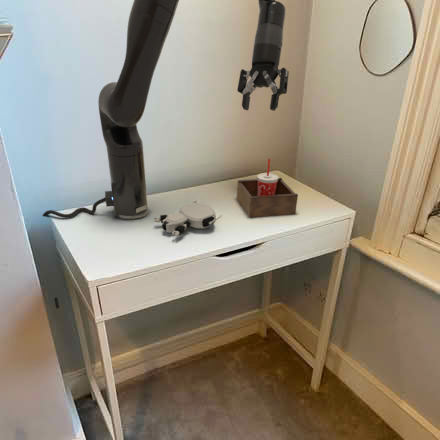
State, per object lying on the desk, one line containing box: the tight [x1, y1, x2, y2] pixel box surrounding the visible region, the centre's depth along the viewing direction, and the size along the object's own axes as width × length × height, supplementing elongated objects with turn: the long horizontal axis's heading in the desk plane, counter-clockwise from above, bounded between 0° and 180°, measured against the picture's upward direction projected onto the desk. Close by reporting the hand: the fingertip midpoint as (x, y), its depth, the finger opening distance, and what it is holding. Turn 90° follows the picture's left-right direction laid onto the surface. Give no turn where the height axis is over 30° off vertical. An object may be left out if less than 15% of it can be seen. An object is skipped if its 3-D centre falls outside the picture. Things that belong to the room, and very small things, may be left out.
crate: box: [236, 177, 299, 218], centre depth 127 cm, size 14×14×6 cm
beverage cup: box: [256, 158, 280, 196], centre depth 125 cm, size 6×6×14 cm
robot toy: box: [153, 199, 223, 237], centre depth 115 cm, size 12×4×15 cm
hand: (258, 109), depth 121 cm, fingers open, 8 cm apart
